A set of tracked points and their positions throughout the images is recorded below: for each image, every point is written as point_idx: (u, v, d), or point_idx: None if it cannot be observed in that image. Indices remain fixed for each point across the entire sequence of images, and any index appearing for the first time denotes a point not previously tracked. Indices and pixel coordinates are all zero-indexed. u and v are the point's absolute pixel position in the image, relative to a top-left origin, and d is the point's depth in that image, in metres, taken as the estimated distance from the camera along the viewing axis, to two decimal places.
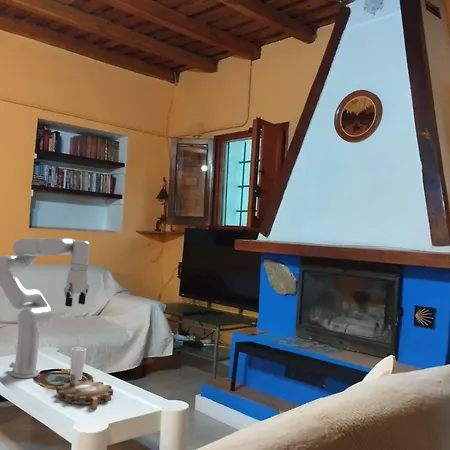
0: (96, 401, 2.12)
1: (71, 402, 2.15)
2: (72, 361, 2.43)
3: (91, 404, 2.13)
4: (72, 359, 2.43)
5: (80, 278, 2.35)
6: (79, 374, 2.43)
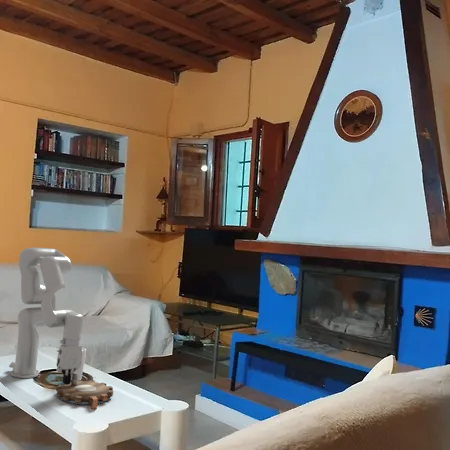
0: (96, 401, 2.12)
1: (71, 402, 2.15)
2: None
3: (91, 404, 2.13)
4: None
5: None
6: (79, 374, 2.43)
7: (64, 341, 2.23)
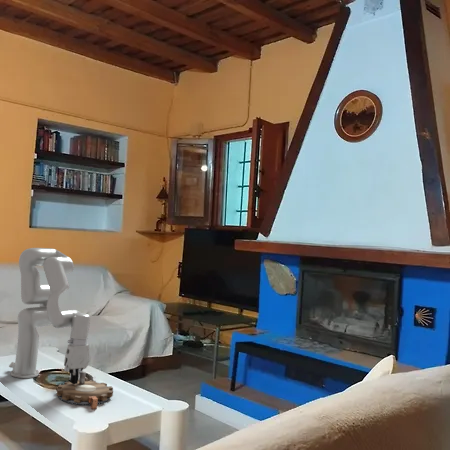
0: (96, 401, 2.12)
1: (71, 402, 2.15)
2: None
3: (91, 404, 2.13)
4: None
5: None
6: (79, 374, 2.43)
7: (72, 341, 2.25)
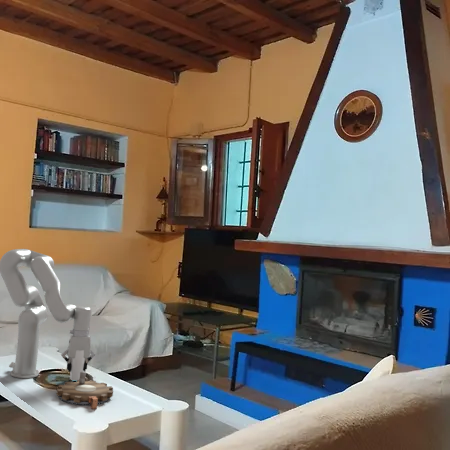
0: (96, 401, 2.12)
1: (71, 402, 2.15)
2: (72, 361, 2.43)
3: (91, 404, 2.13)
4: (72, 359, 2.43)
5: None
6: (79, 374, 2.43)
7: (72, 331, 2.43)
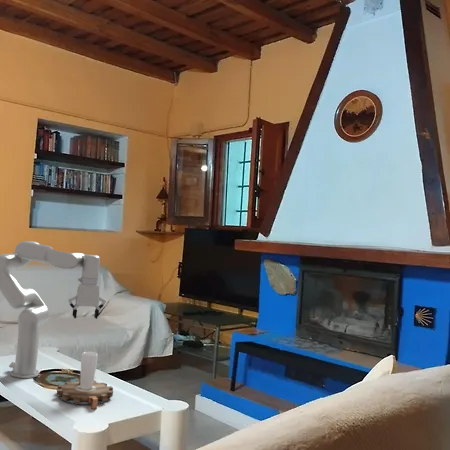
0: (96, 401, 2.12)
1: (71, 402, 2.15)
2: (82, 367, 2.23)
3: (91, 404, 2.13)
4: (82, 365, 2.23)
5: None
6: (90, 381, 2.24)
7: (81, 279, 2.40)
